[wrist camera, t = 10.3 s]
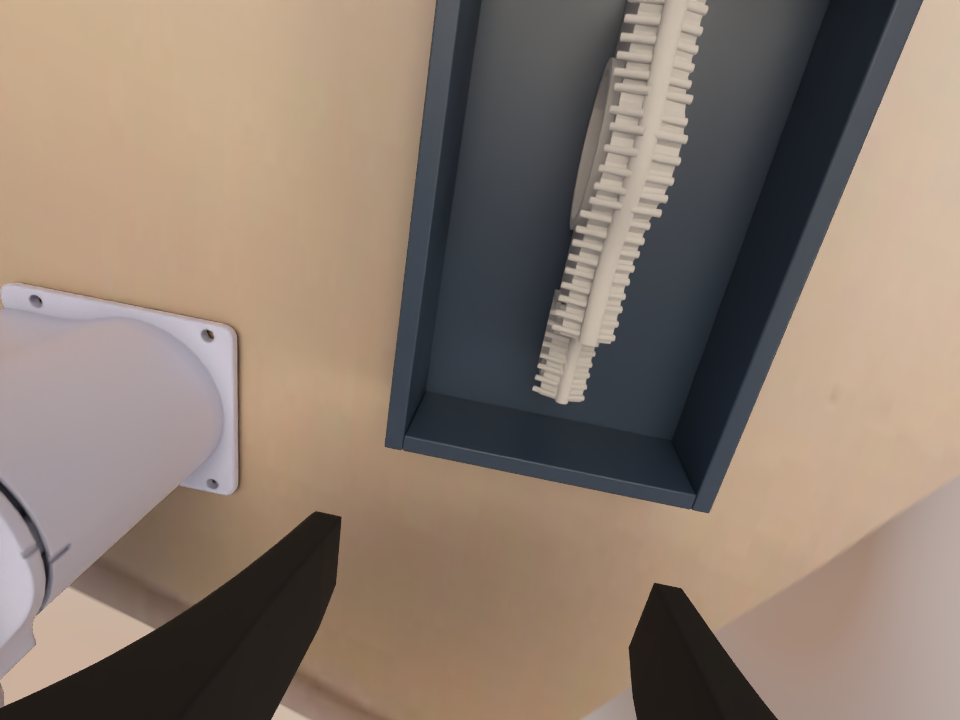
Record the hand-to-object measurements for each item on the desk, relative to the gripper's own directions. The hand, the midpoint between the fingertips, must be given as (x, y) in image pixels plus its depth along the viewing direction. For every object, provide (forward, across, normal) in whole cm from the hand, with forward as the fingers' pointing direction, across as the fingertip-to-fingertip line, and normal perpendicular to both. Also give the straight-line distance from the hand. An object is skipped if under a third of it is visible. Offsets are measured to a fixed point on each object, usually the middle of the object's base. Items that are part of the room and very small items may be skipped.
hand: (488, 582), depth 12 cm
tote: (+9, -2, -8) cm, 12 cm away
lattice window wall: (+9, -1, -8) cm, 12 cm away
